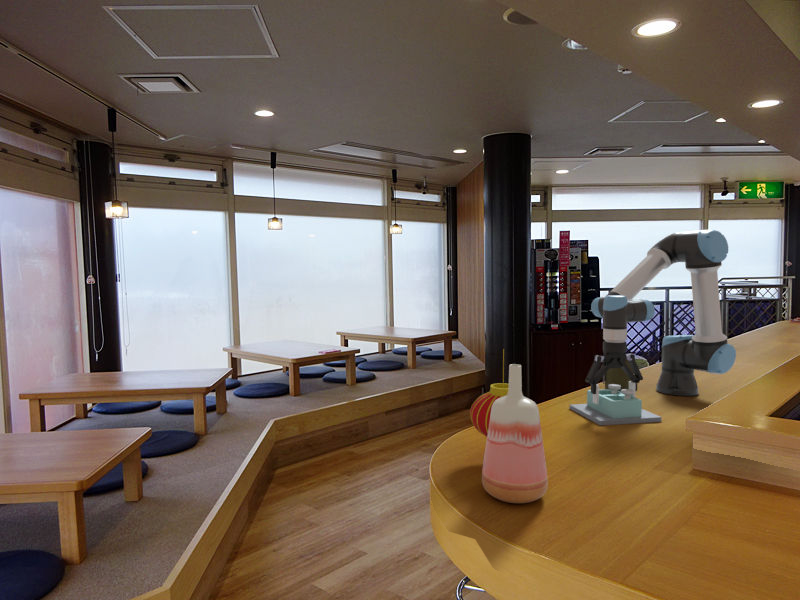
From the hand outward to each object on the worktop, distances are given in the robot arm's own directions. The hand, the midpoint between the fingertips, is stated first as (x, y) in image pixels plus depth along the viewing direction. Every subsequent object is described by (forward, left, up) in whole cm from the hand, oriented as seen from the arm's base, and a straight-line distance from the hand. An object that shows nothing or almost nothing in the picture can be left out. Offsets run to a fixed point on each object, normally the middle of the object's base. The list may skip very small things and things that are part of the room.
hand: (613, 402), depth 180 cm
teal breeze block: (0, 0, -3) cm, 3 cm away
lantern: (+53, +33, -5) cm, 63 cm away
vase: (+58, +53, -5) cm, 79 cm away
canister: (-12, -16, -5) cm, 20 cm away
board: (0, 0, -4) cm, 5 cm away
